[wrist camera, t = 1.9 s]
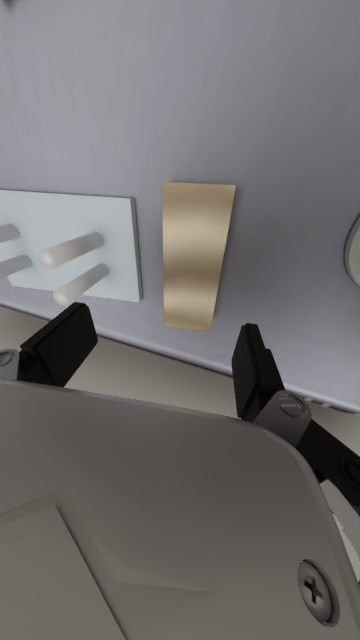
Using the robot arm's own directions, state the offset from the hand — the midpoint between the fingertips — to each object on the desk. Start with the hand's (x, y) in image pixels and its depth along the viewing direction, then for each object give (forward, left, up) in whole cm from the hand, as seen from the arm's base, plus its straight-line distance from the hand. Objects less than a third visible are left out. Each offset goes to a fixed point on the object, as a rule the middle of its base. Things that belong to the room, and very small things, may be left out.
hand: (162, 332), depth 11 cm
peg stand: (+16, 0, -14) cm, 21 cm away
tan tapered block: (-1, 0, -14) cm, 14 cm away
